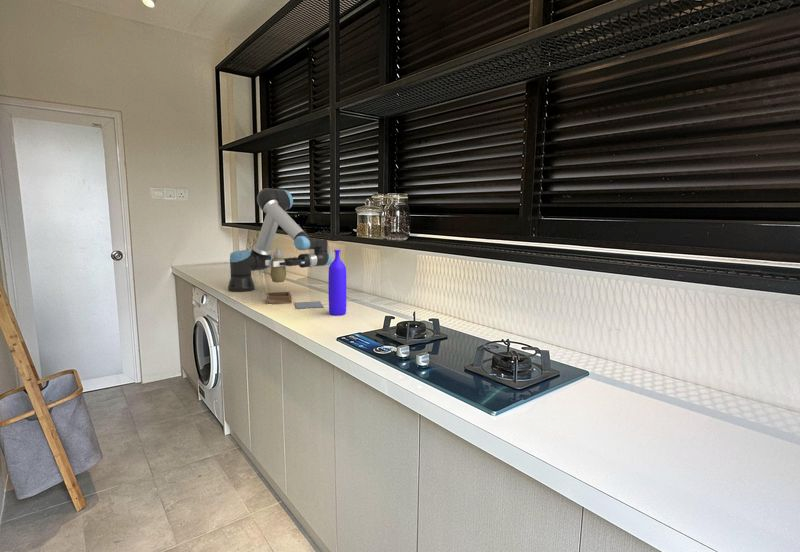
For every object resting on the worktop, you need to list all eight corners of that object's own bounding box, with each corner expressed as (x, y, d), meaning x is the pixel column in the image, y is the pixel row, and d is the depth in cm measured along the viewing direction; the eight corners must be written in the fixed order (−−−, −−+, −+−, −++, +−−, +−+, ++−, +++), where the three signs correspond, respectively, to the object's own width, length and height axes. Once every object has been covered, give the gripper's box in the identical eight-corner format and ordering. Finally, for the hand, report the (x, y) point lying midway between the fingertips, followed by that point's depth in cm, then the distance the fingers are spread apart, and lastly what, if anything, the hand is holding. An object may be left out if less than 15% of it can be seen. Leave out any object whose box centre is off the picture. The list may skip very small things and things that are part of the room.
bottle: (334, 316, 188) (334, 251, 184) (325, 313, 194) (324, 249, 190) (350, 314, 194) (350, 250, 189) (340, 310, 200) (340, 249, 195)
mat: (294, 303, 214) (294, 302, 214) (319, 302, 218) (319, 301, 218) (296, 309, 202) (296, 307, 202) (323, 307, 206) (323, 306, 206)
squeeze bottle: (267, 281, 216) (266, 247, 213) (281, 280, 222) (280, 246, 219) (275, 283, 211) (274, 248, 208) (289, 282, 217) (289, 247, 214)
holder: (266, 300, 222) (266, 292, 221) (289, 298, 226) (289, 291, 225) (267, 304, 210) (267, 297, 210) (291, 303, 214) (291, 295, 214)
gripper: (317, 269, 223) (280, 272, 205) (296, 265, 235) (259, 268, 218) (317, 255, 221) (279, 257, 204) (296, 252, 234) (259, 254, 217)
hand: (269, 263), depth 211 cm, fingers closed on squeeze bottle, 6 cm apart
